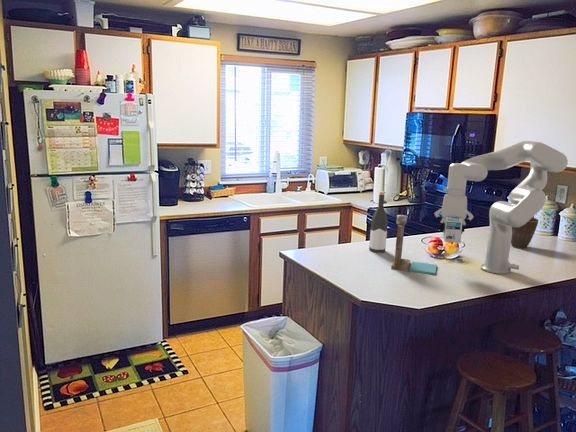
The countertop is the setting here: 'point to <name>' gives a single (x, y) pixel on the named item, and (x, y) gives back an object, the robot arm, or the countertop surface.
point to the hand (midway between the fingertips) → (452, 232)
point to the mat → (423, 268)
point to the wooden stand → (400, 245)
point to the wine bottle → (379, 228)
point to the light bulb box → (452, 229)
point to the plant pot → (523, 234)
